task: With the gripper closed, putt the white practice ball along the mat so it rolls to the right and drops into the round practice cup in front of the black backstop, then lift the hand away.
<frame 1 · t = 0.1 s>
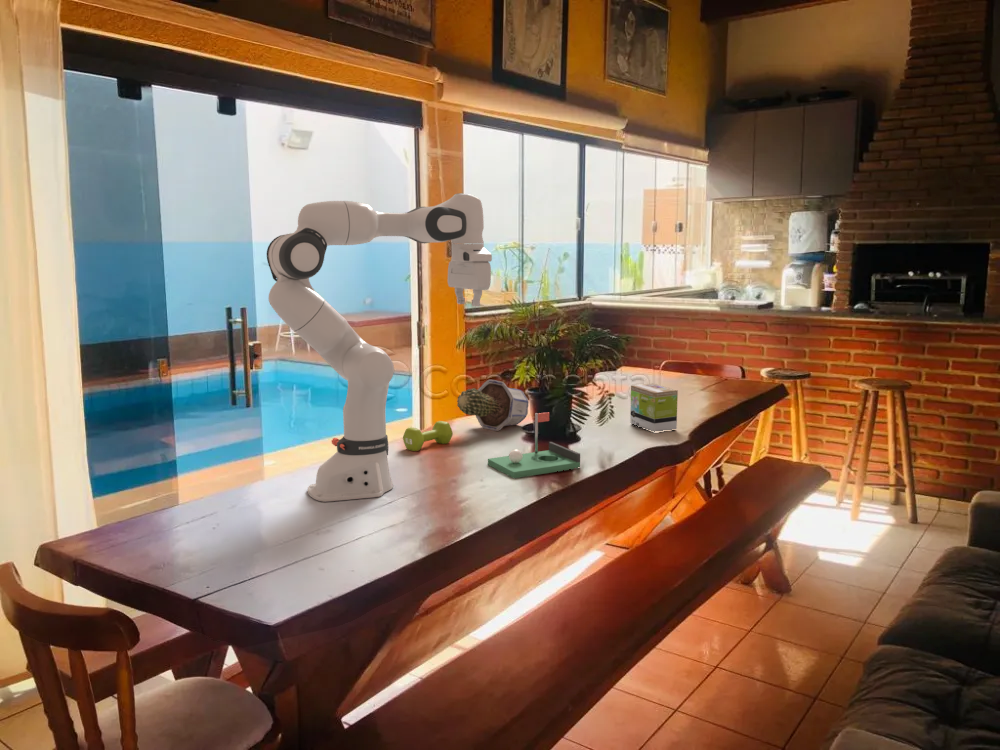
hand: (468, 305, 223), 48 cm above the table, fingers open, 8 cm apart
flag pin: (536, 458, 245), resting on mat
potted plant: (489, 430, 283), on the table
tea box: (652, 428, 285), on the table
dumbbell: (428, 447, 261), on the table
mat: (533, 466, 237), on the table
ball: (515, 456, 233), point 4 cm above the table, touching mat
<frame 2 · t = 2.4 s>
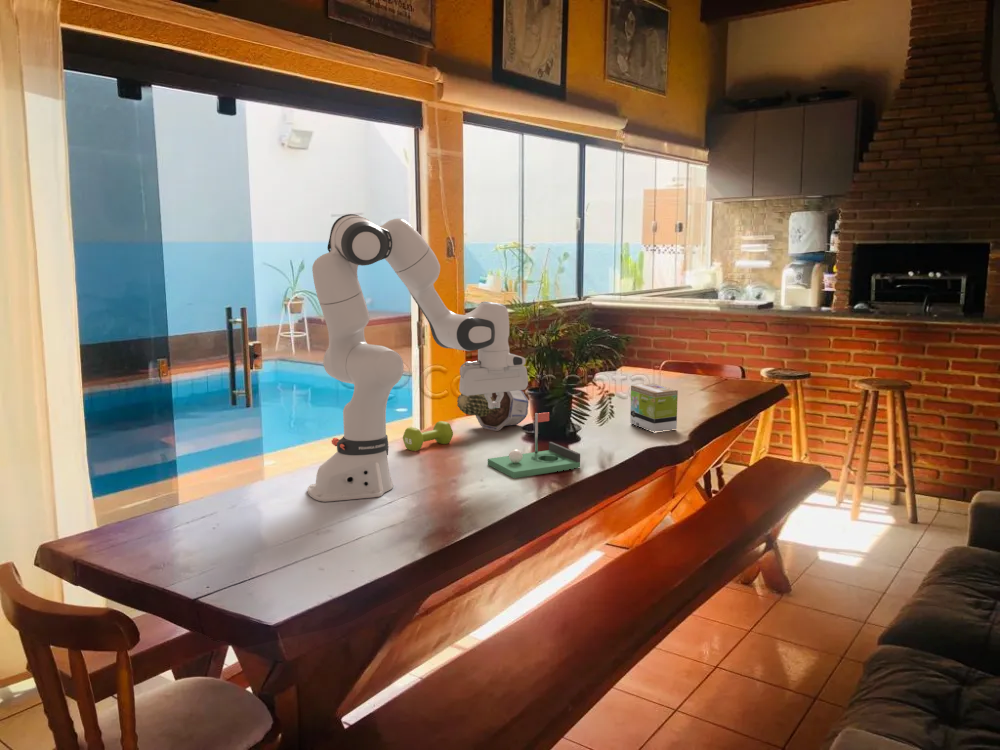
hand: (494, 408, 228), 19 cm above the table, fingers closed
nothing on the table moved.
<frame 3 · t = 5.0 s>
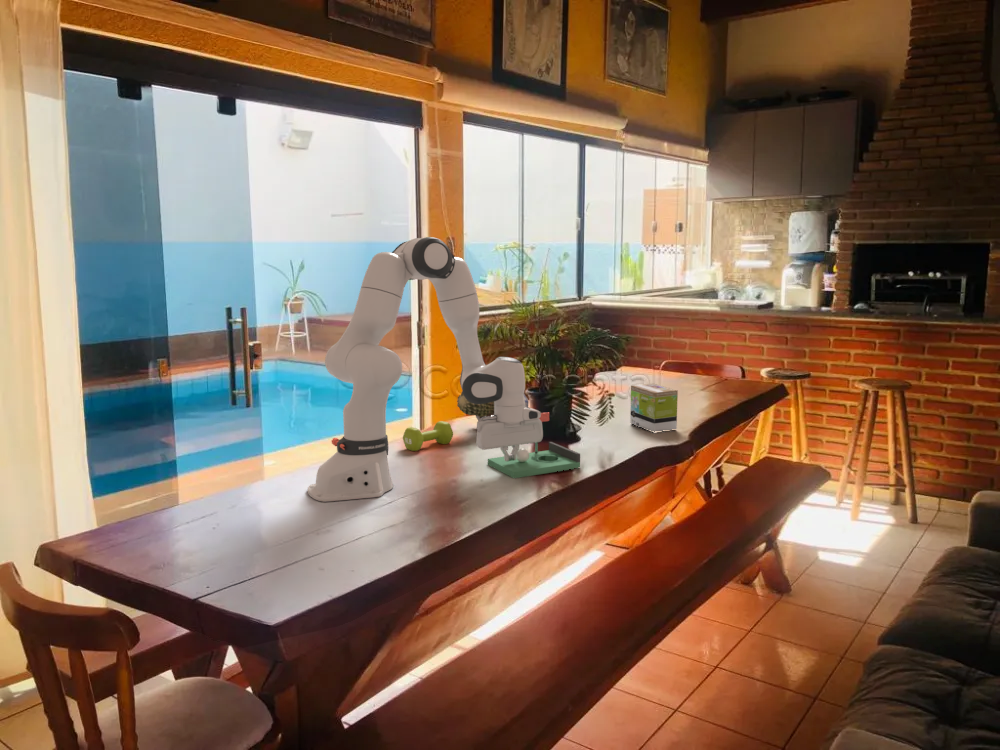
hand: (510, 460, 233), 3 cm above the table, fingers closed
ball: (522, 455, 235), point 4 cm above the table, tilted 62°, touching mat
everything else where it was.
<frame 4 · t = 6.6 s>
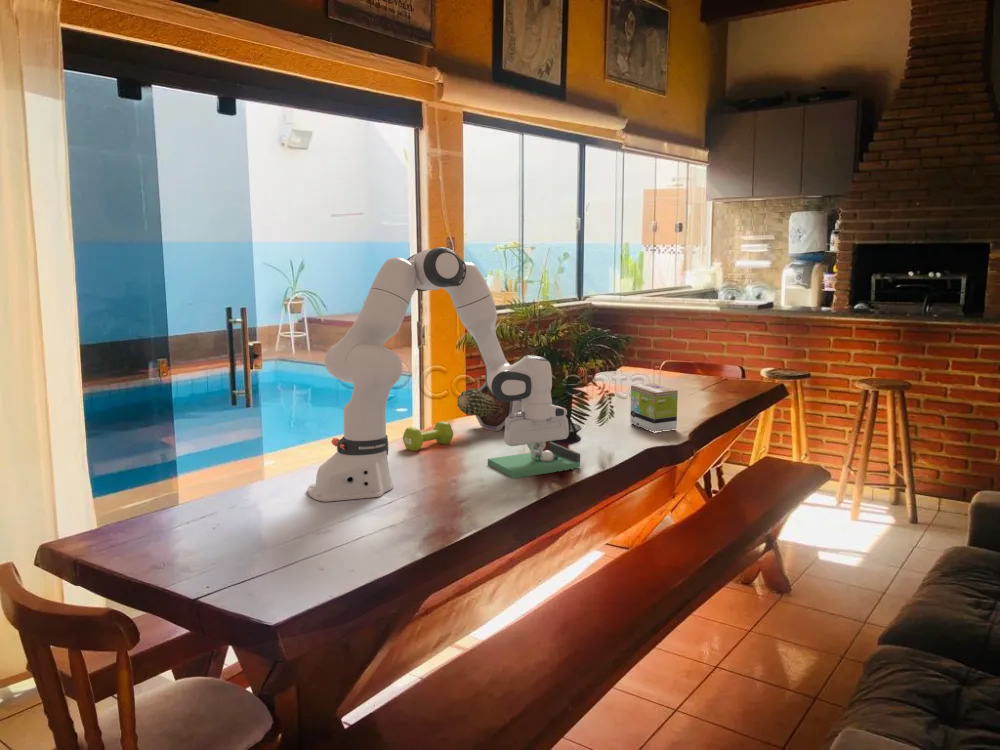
hand: (536, 456, 237), 3 cm above the table, fingers closed
ball: (546, 457, 239), point 2 cm above the table, tilted 45°, touching gripper, mat
everything else where it was.
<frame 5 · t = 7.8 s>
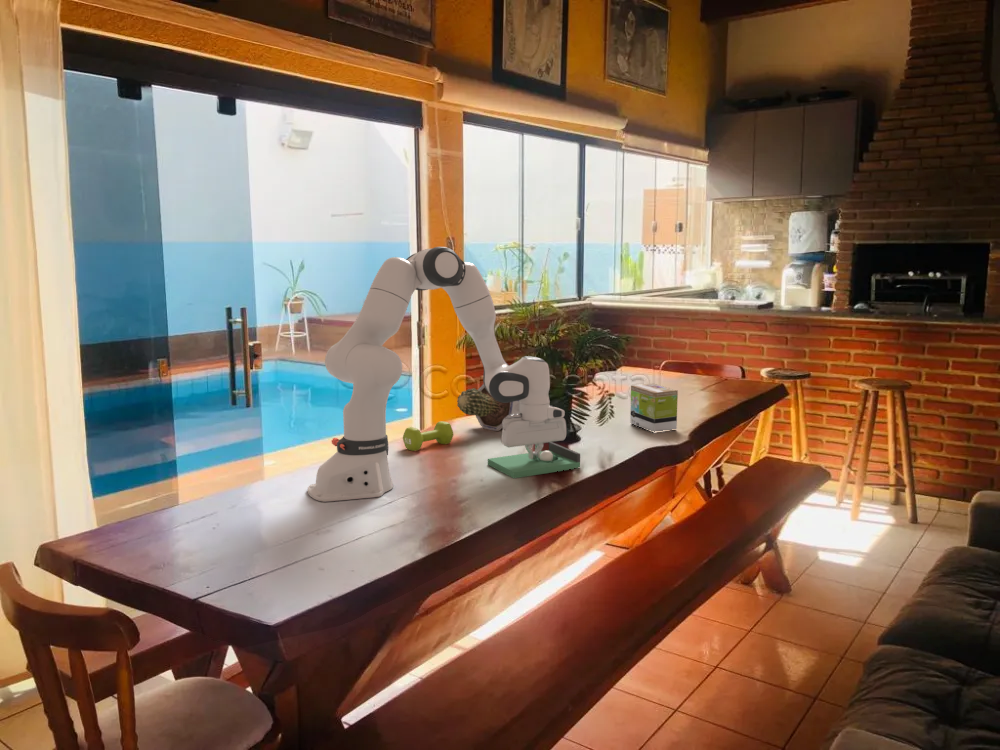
hand: (534, 458, 236), 2 cm above the table, fingers closed
ball: (546, 457, 238), point 2 cm above the table, tilted 49°, touching mat
everything else where it was.
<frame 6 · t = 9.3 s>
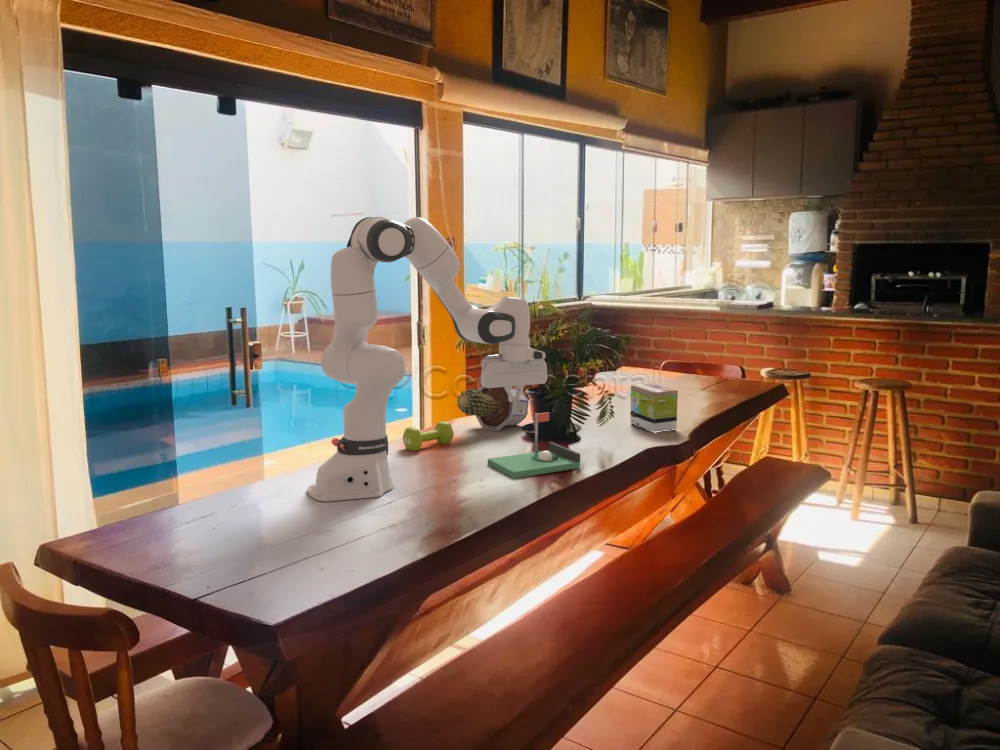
hand: (514, 401, 233), 20 cm above the table, fingers closed
ball: (545, 457, 238), point 2 cm above the table, tilted 60°, touching mat
everything else where it was.
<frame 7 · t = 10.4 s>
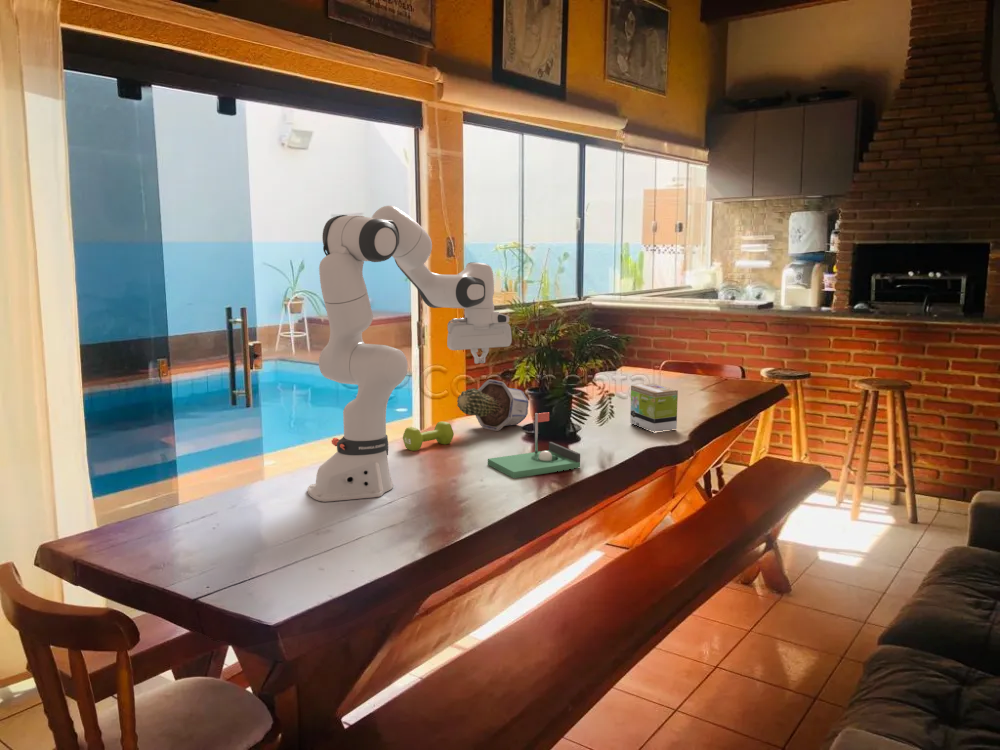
hand: (479, 363, 243), 29 cm above the table, fingers closed
nothing on the table moved.
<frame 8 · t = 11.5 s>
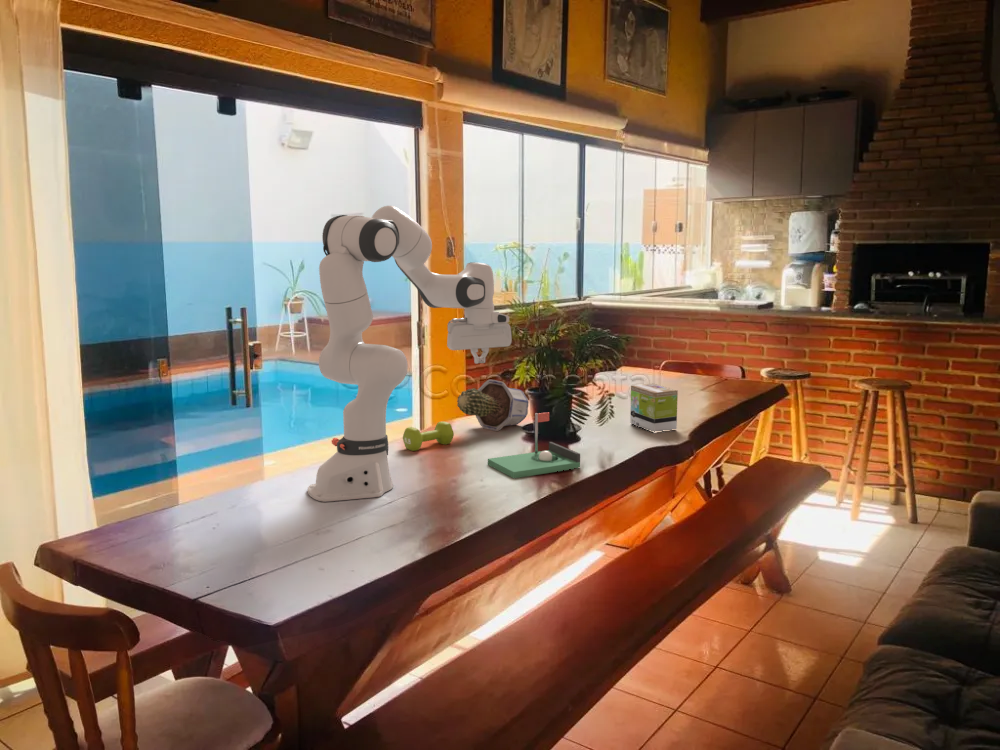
hand: (479, 363, 243), 29 cm above the table, fingers closed
nothing on the table moved.
at the end: ball 1.0 cm from the target spot on the mat, point 2.2 cm above the mat's base; the gripper is holding nothing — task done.
